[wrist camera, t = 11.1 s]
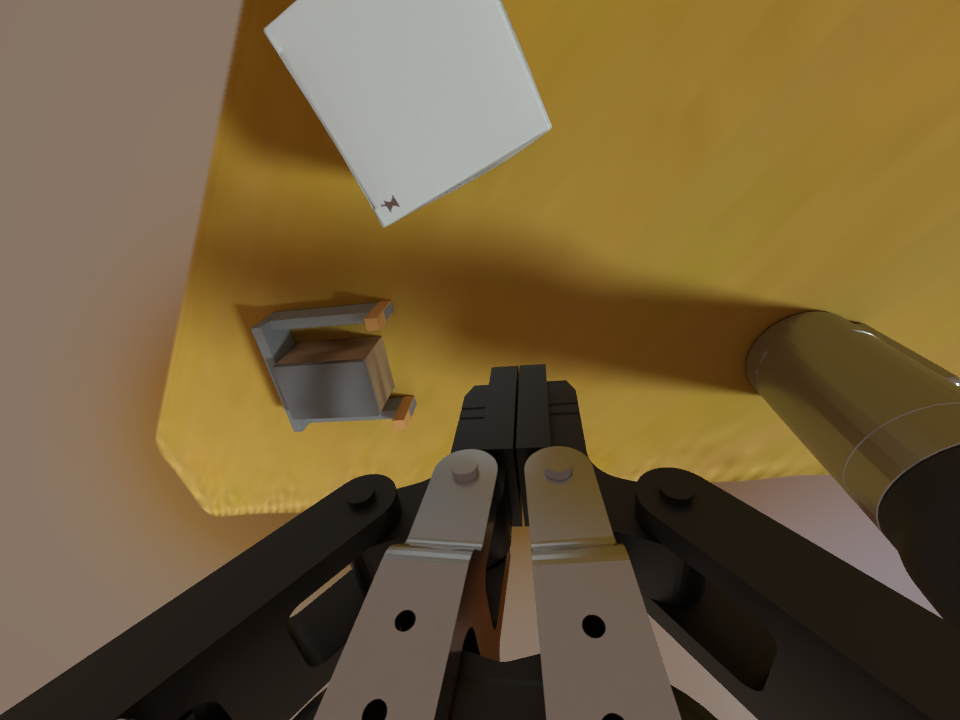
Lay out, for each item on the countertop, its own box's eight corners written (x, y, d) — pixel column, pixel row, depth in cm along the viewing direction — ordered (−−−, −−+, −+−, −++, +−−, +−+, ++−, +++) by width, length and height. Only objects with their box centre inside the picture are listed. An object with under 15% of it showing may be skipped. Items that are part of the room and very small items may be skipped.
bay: (391, 300, 40) (376, 317, 36) (416, 405, 46) (406, 429, 42) (273, 311, 42) (247, 329, 38) (311, 410, 48) (292, 434, 44)
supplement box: (546, 135, 32) (560, 136, 18) (445, 194, 35) (385, 238, 21) (488, -4, 29) (445, -147, 14) (381, 75, 32) (252, 25, 17)
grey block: (382, 335, 42) (362, 361, 38) (394, 385, 45) (378, 416, 40) (300, 341, 44) (271, 367, 39) (317, 389, 47) (292, 419, 42)
